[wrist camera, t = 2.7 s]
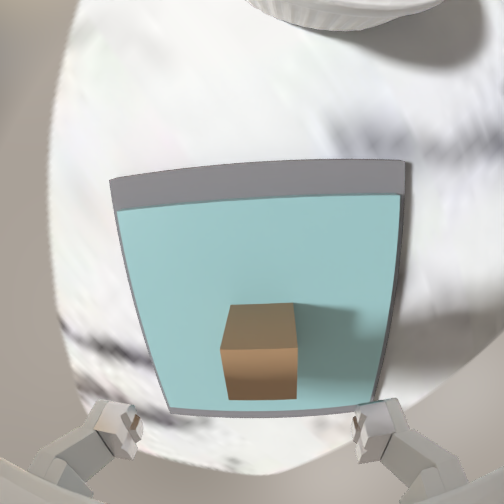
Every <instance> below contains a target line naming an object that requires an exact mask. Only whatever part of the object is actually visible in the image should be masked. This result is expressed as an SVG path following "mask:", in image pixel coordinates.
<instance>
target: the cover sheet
mask: <svg viewBox="0 0 504 504" xmlns="http://www.w3.org/2000/svg"><path fill="white" fill-rule="evenodd" d="M399 211H400V195H398V194H396V193H343V194H308V195H284V196H264V197H247V198H232V199H218V200H205V201H193V202H181V203H171V204H160V205H151V206H141V207H132V208H124V209H121V210H119V211H117V217H118V222H119V228H120V233H121V238H122V243H123V248H124V253H125V257H126V262H127V266H128V271H129V275H130V279H131V284H132V288H133V292H134V296H135V299H136V303H137V307H138V311H139V314H140V318H141V321H142V325H143V328H144V332H145V335H146V339H147V342H148V345H149V348H150V351H151V355H152V358H153V361H154V364H155V367H156V370H157V373H158V376H159V379H160V381H161V384H162V387H163V390H164V393H165V395H166V398H167V401H168V403H169V406H170V407H175V408H186V409H201V410H220V411H285V410H305V409H319V408H330V407H340V406H349V405H357V404H360V403H367V402H370V399H371V395H372V391H373V387H374V383H375V379H376V375H377V371H378V366H379V362H380V357H381V352H382V348H383V343H384V337H385V332H386V326H387V321H388V315H389V309H390V302H391V295H392V288H393V280H394V272H395V263H396V253H397V242H398V228H399Z"/></svg>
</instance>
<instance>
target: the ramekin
mask: <svg viewBox="0 0 504 504" xmlns="http://www.w3.org/2000/svg"><path fill="white" fill-rule="evenodd" d="M245 1H247V2H249V3H250V4H251V5H252V6H253V7H254V8H257V9H259V10H261V11H262V12H263V13H265V14H267V15H270V16H273V17H275V18H277V19H279V20H283V21H286V22H288V23H291V24H296V25H300V26H302V27H308V28H314V29H318V30H330V31H351V30H363V29H365V28H372V27H376V26H378V25H380V24H384V23H387V22H389V21H391V20H393V19H396V18H398V17H401V16H406V15H411V14H416V13H419V12H423V11H426V10H428V9H431V8H433V7H435V6H437V5H438V4H440V3H441V2H443V1H444V0H245Z"/></svg>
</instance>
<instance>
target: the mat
mask: <svg viewBox="0 0 504 504" xmlns="http://www.w3.org/2000/svg"><path fill="white" fill-rule="evenodd" d="M109 183H110V190H111V196H112V203H113V209H114V215H115V220H116V226H117V231H118V236H119V241H120V246H121V251H122V255H123V260H124V264H125V269H126V273H127V277H128V281H129V285H130V289H131V293H132V297H133V301H134V305H135V308H136V312H137V316H138V319H139V323H140V326H141V330H142V333H143V336H144V340H145V343H146V346H147V349H148V352H149V355H150V358H151V361H152V364H153V367H154V370H155V373H156V376H157V379H158V382H159V385H160V387H161V390H162V393H163V395H164V398H165V401H166V403H167V406H168V409H169V411H170V414H180V415H191V416H205V417H226V418H282V417H303V416H318V415H329V414H339V413H348V412H355V407H356V405H349V406H340V407H330V408H319V409H305V410H285V411H220V410H201V409H186V408H175V407H170V406H169V403H168V401H167V398H166V395H165V393H164V390H163V387H162V384H161V381H160V379H159V376H158V373H157V370H156V367H155V364H154V361H153V358H152V355H151V351H150V348H149V345H148V342H147V339H146V335H145V332H144V328H143V325H142V321H141V318H140V314H139V311H138V307H137V303H136V299H135V296H134V292H133V288H132V284H131V279H130V275H129V271H128V266H127V262H126V257H125V253H124V248H123V243H122V238H121V233H120V228H119V222H118V217H117V211H119V210H121V209H124V208H132V207H141V206H151V205H160V204H171V203H181V202H193V201H205V200H218V199H232V198H247V197H264V196H284V195H308V194H343V193H396V194H398V195H400V211H399V228H398V242H397V253H396V263H395V272H394V280H393V288H392V295H391V302H390V309H389V315H388V321H387V326H386V332H385V337H384V343H383V348H382V352H381V357H380V362H379V366H378V371H377V375H376V379H375V383H374V387H373V391H372V395H371V399H370V402H373V399H374V396H375V392H376V388H377V384H378V381H379V377H380V372H381V368H382V364H383V360H384V355H385V350H386V346H387V341H388V336H389V331H390V325H391V320H392V314H393V308H394V301H395V295H396V288H397V280H398V273H399V264H400V255H401V244H402V232H403V217H404V196H405V161H401V160H384V159H309V160H282V161H263V162H247V163H234V164H222V165H211V166H201V167H192V168H183V169H174V170H166V171H159V172H152V173H144V174H138V175H131V176H125V177H119V178H114V179H111V180H109Z"/></svg>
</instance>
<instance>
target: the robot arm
mask: <svg viewBox="0 0 504 504" xmlns="http://www.w3.org/2000/svg"><path fill="white" fill-rule="evenodd" d="M136 412H137V410H136V408H135V406H134V405H130V404H124V403H119V402H114V401H108V400H103V399H99V400H97V401H96V402H95V404H94V406H93V408H92V409H91V411H90V413H89V415H88V417H87V418H86V420H85V422H84V424H83V426H82V427H80V426H79V427H77V428H75V429H74V430H72V431H70V432H69V433H67V434H65V435H64V436H62V437H60V438H59V439H57V440H55V441H53V442H52V443H50V444H48V445H46V446H45V447H43V448H41V449H39V450H38V452H37V454H36V456H35V457H34V459H33V461H32V463H31V464H30V466H29V468H28V470H27V471H25V470H23V469H21V468H20V467H18V466H15V465H14V464H12V463H10V462H8V461H6V460H5V459H3V458H1V457H0V504H108V503H105V502H101V501H98V500H95V499H92V496H93V490H92V489H91V488H90V487H89V486H88V485H87V484H86V482H87V481H88V480H89V479H90V478H92V477H93V476H94V475H95V474H96V473H98V472H99V471H100V470H101V469H102V468H103V467H105V466H106V465H107V464H108V463H109V462H111V461H112V460H113V459H114V457H117V458H122V459H128V460H134V457H135V454H136V451H137V449H138V447H137V445H136V443H137V442H138V441H139V440H141V438H142V435H143V423H142V420H141V418H140V417H138V416H137V415H136ZM355 414H356V416H355V417H353V419H352V424H351V432H352V438H353V441H354V442H355V443H356V444H357V446H356V449H355V452H356V456H357V460H358V464H362V463H368V462H374V461H379V460H381V461H380V462H381V463H382V464H383V465H384V466H386V467H387V468H388V469H389V470H390V471H391V472H392V473H393V474H394V475H395V476H396V477H397V478H398V479H399V480H400V481H402V482H403V483H404V484H405V485H406V486H407V487H408V488H409V489H408V490H407V491H406V493H405V494H404V495H403V496H402V498H401V499H400V500H399V503H400V504H504V466H503V467H501V468H499V469H497V470H495V471H493V472H491V473H489V474H487V475H485V476H483V477H481V478H479V479H477V480H474V481H472V482H470V483H469V482H468V480H467V477H466V475H465V472H464V470H463V468H462V465H461V463H460V461H459V458H458V457H457V456H455V455H454V454H452V453H451V452H449V451H447V450H446V449H444V448H443V447H441V446H439V445H438V444H437V443H435V442H433V441H432V440H430V439H429V438H427V437H426V436H424V435H423V434H421V433H420V432H418V431H417V430H415V429H410V427H409V425H408V422H407V420H406V417H405V415H404V412H403V410H402V408H401V405H400V403H399V401H398V399H397V398H391V399H385V400H378V401H373V402H367V403H360V404H357V405H356V407H355Z"/></svg>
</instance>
